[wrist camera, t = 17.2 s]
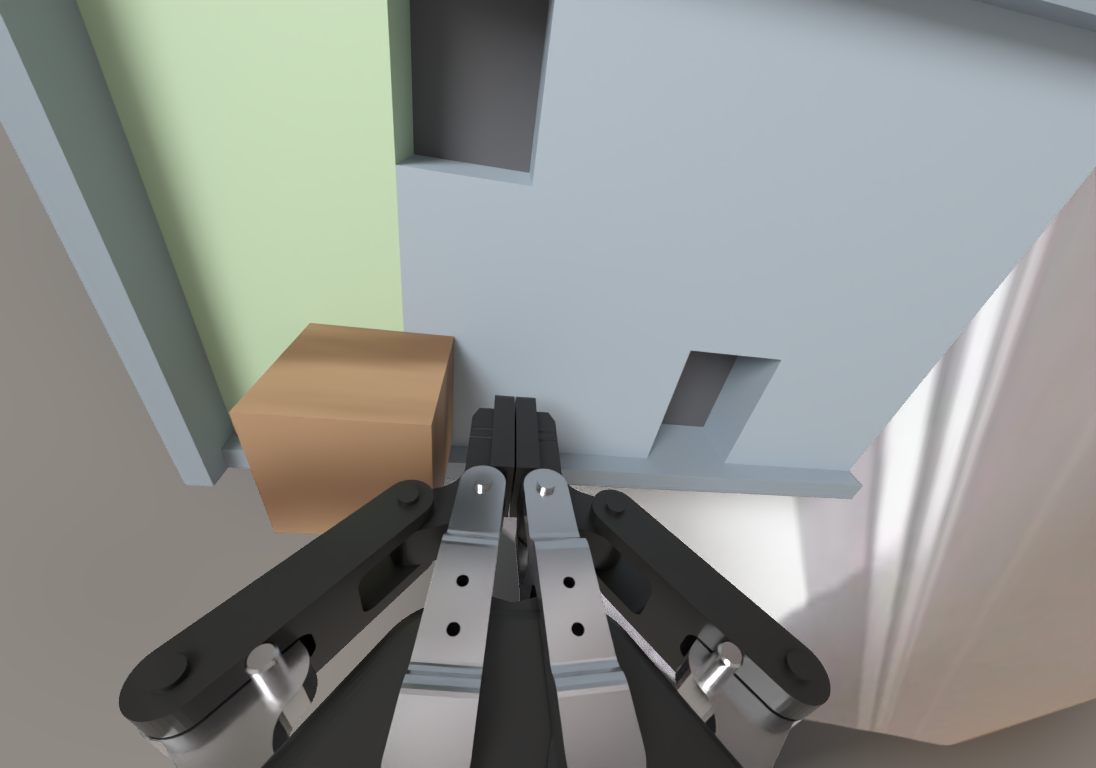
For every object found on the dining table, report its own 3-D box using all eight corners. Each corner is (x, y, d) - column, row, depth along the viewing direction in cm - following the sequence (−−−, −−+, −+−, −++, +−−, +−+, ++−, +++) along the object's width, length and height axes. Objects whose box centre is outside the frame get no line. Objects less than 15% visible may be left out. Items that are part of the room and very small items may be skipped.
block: (309, 323, 14) (228, 412, 10) (454, 336, 15) (431, 425, 11) (331, 429, 17) (274, 532, 13) (452, 436, 18) (433, 537, 14)
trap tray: (39, -257, 9) (-333, -536, 5) (1094, 25, 14) (1345, -6, 9) (252, 405, 20) (185, 484, 16) (805, 444, 24) (864, 515, 20)
